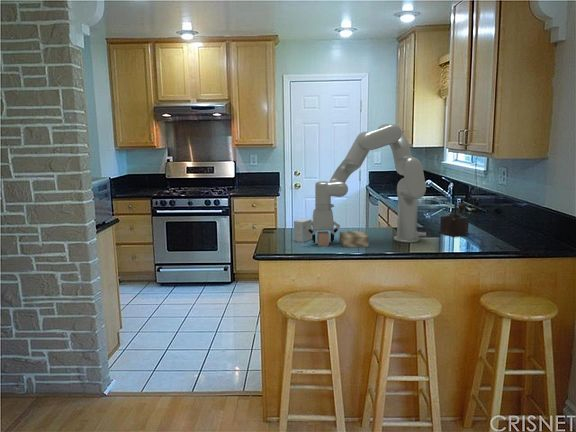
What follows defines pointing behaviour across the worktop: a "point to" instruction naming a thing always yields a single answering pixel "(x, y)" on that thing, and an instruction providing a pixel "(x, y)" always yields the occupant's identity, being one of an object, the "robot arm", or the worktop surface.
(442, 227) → the dark brown boxy piece
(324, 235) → the terracotta block
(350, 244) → the maple base block
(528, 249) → the worktop surface
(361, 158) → the robot arm
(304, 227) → the small box
